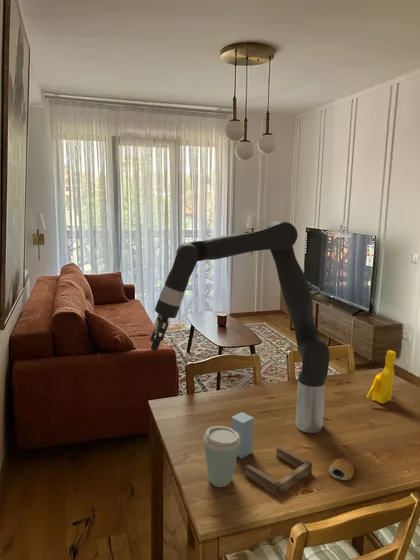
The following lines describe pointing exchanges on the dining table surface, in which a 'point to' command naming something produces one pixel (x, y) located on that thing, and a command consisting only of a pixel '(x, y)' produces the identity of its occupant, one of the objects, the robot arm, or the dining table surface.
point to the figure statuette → (384, 380)
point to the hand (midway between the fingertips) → (153, 345)
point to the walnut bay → (287, 481)
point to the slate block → (243, 432)
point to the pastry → (341, 469)
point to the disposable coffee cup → (221, 454)
